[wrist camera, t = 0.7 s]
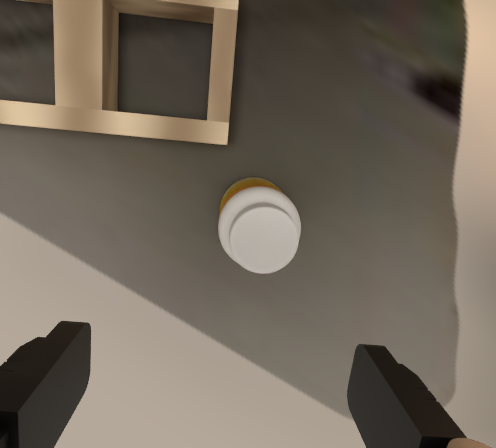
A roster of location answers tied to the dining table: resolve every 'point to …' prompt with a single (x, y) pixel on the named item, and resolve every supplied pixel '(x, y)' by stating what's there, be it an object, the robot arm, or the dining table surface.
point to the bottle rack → (106, 71)
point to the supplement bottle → (258, 225)
